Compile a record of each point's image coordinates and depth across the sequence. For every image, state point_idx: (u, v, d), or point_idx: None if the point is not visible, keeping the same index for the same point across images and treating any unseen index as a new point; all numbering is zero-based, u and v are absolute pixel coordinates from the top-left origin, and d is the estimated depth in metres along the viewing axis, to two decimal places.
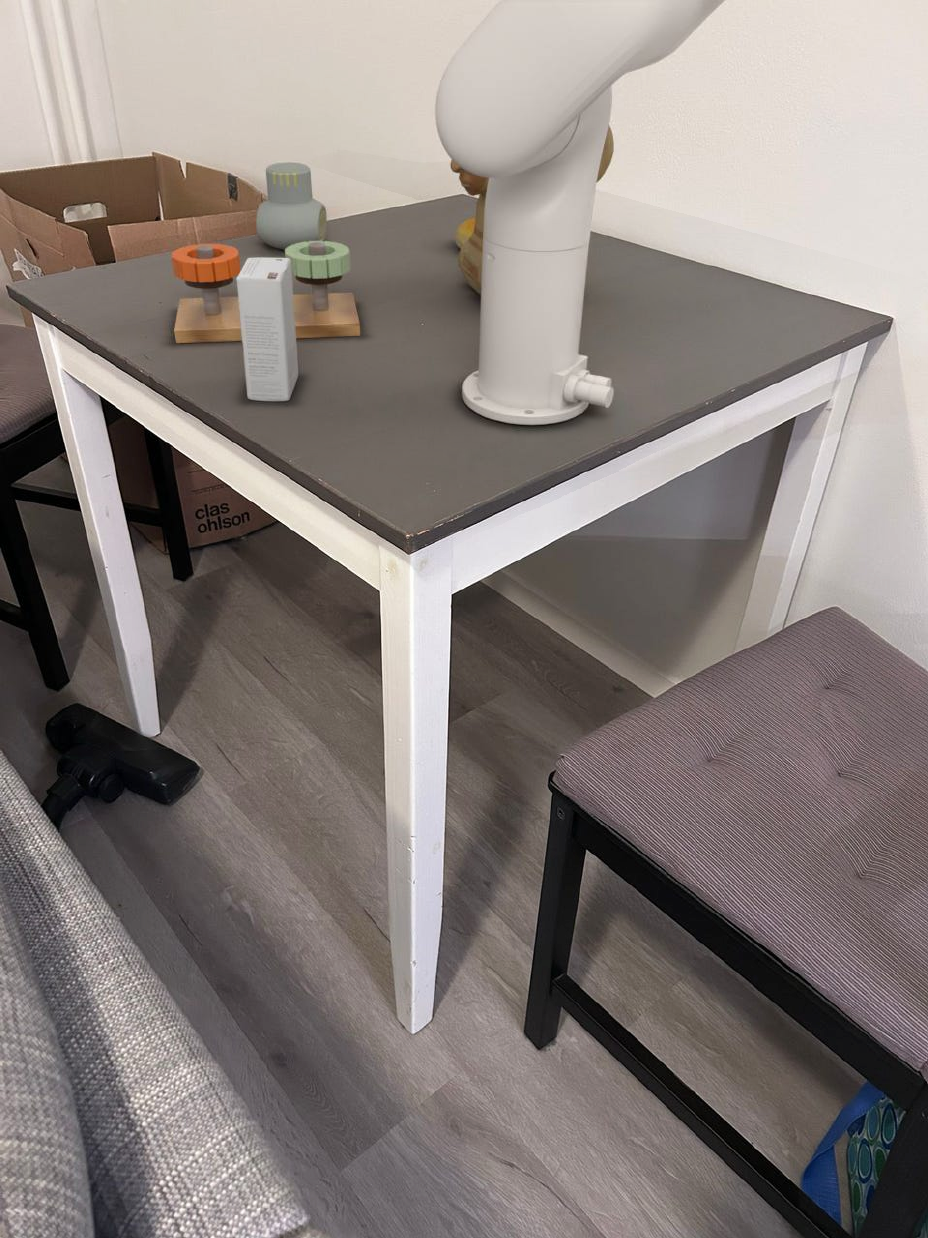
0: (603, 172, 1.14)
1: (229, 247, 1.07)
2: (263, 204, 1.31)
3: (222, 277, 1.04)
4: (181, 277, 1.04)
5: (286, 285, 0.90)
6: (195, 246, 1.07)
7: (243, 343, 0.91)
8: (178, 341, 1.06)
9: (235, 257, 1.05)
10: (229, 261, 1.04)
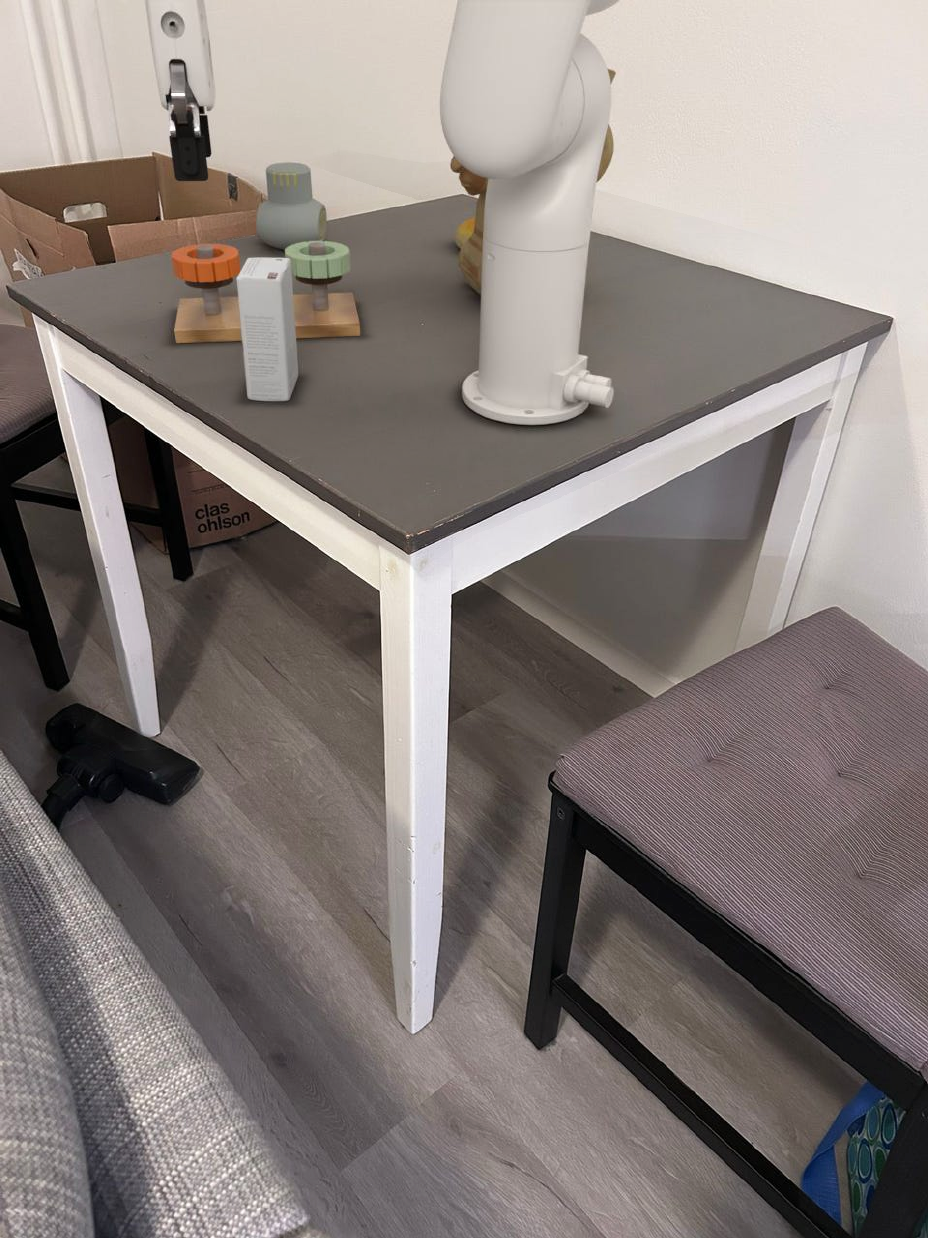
0: (603, 172, 1.14)
1: (229, 247, 1.07)
2: (263, 204, 1.31)
3: (222, 277, 1.04)
4: (181, 277, 1.04)
5: (286, 285, 0.90)
6: (195, 246, 1.07)
7: (243, 343, 0.91)
8: (178, 341, 1.06)
9: (235, 257, 1.05)
10: (229, 261, 1.04)
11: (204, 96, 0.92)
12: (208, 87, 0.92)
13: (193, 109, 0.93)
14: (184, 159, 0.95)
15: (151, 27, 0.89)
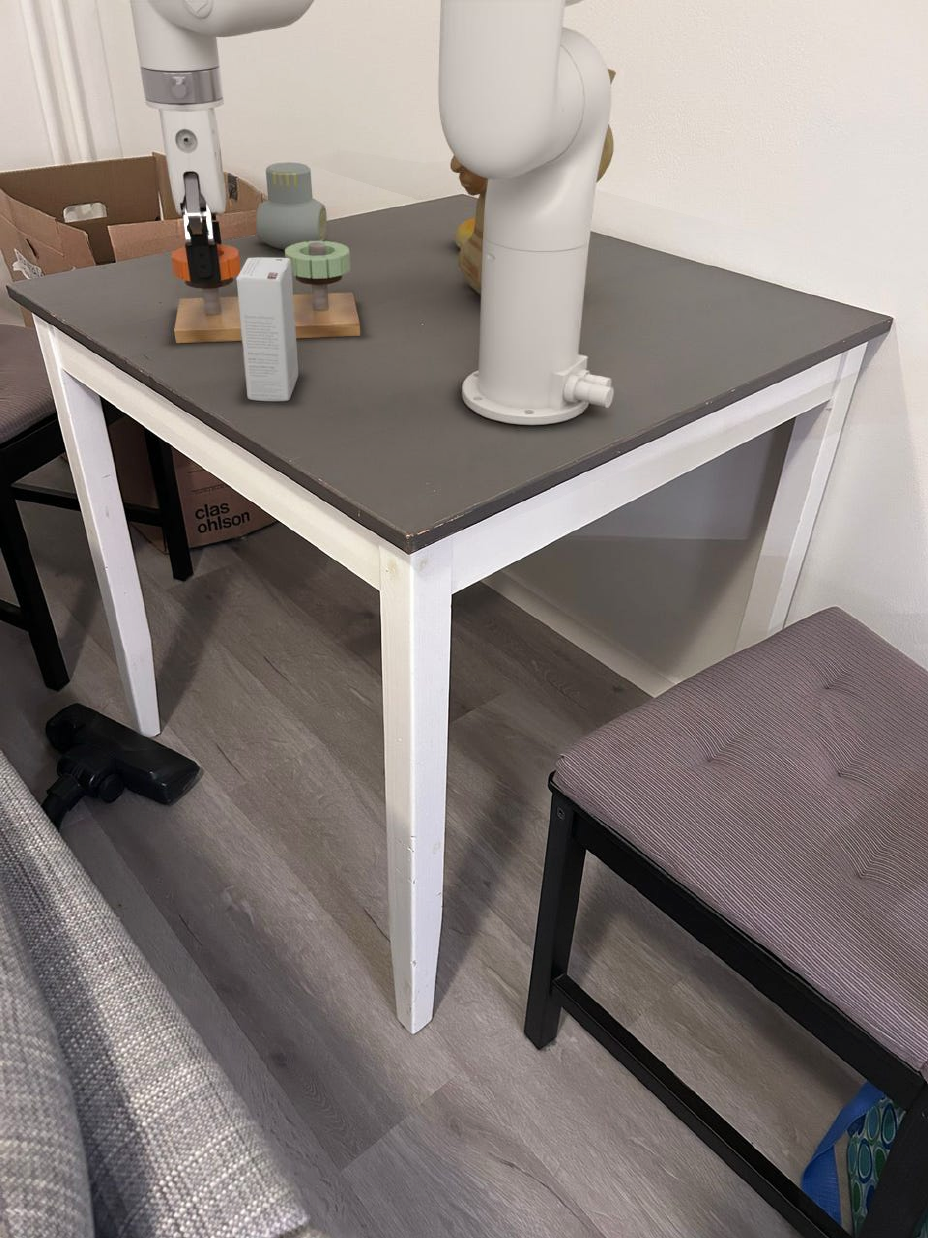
0: (603, 172, 1.14)
1: (229, 247, 1.07)
2: (263, 204, 1.31)
3: (222, 277, 1.04)
4: (181, 277, 1.04)
5: (286, 285, 0.90)
6: None
7: (243, 343, 0.91)
8: (178, 341, 1.06)
9: (235, 257, 1.05)
10: (229, 261, 1.04)
11: (216, 203, 0.98)
12: (220, 195, 0.98)
13: (207, 219, 1.00)
14: (198, 264, 1.02)
15: (166, 143, 0.95)
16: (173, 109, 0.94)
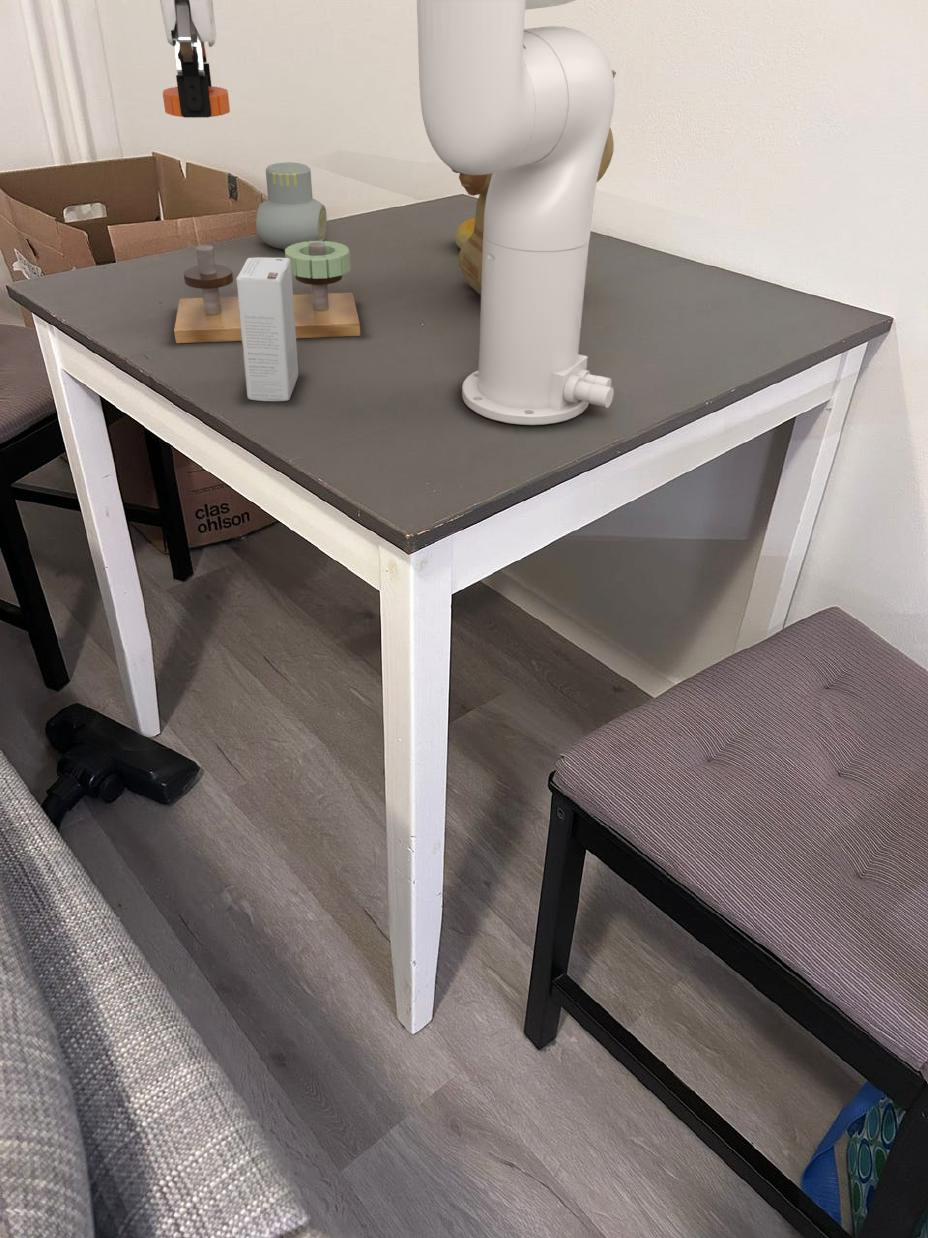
0: (603, 172, 1.14)
1: (219, 88, 1.10)
2: (263, 204, 1.31)
3: (212, 113, 1.07)
4: (172, 113, 1.07)
5: (286, 285, 0.90)
6: None
7: (243, 343, 0.91)
8: (178, 341, 1.06)
9: (224, 94, 1.08)
10: (219, 97, 1.07)
11: (206, 32, 1.01)
12: (210, 23, 1.01)
13: (197, 49, 1.02)
14: (189, 96, 1.04)
15: None
16: None
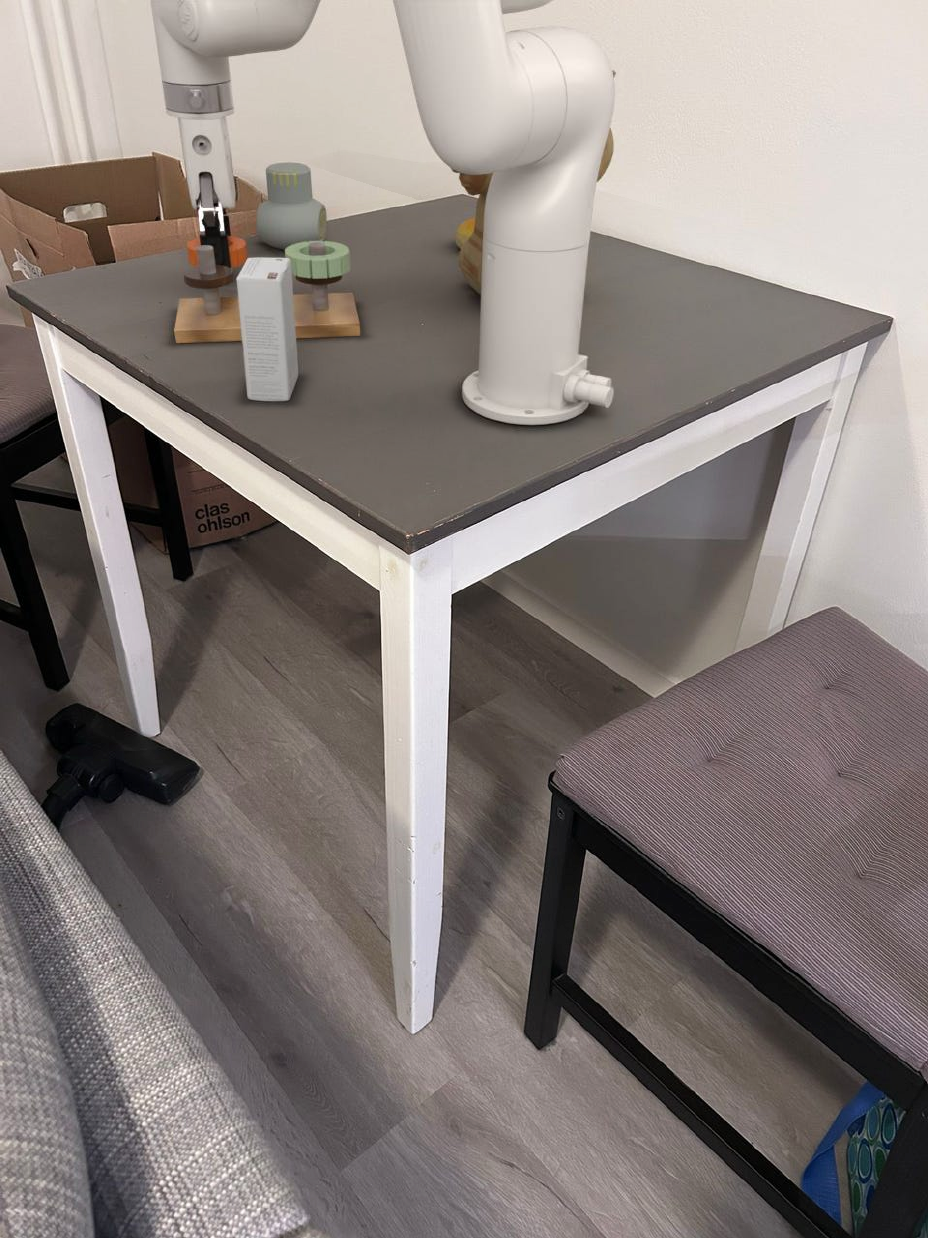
0: (603, 172, 1.14)
1: (237, 238, 1.21)
2: (263, 204, 1.31)
3: (231, 265, 1.19)
4: (195, 264, 1.19)
5: (286, 285, 0.90)
6: None
7: (243, 343, 0.91)
8: (178, 341, 1.06)
9: (243, 247, 1.19)
10: (237, 250, 1.18)
11: (227, 200, 1.12)
12: (230, 192, 1.12)
13: (219, 214, 1.14)
14: None
15: (184, 147, 1.09)
16: (190, 117, 1.08)
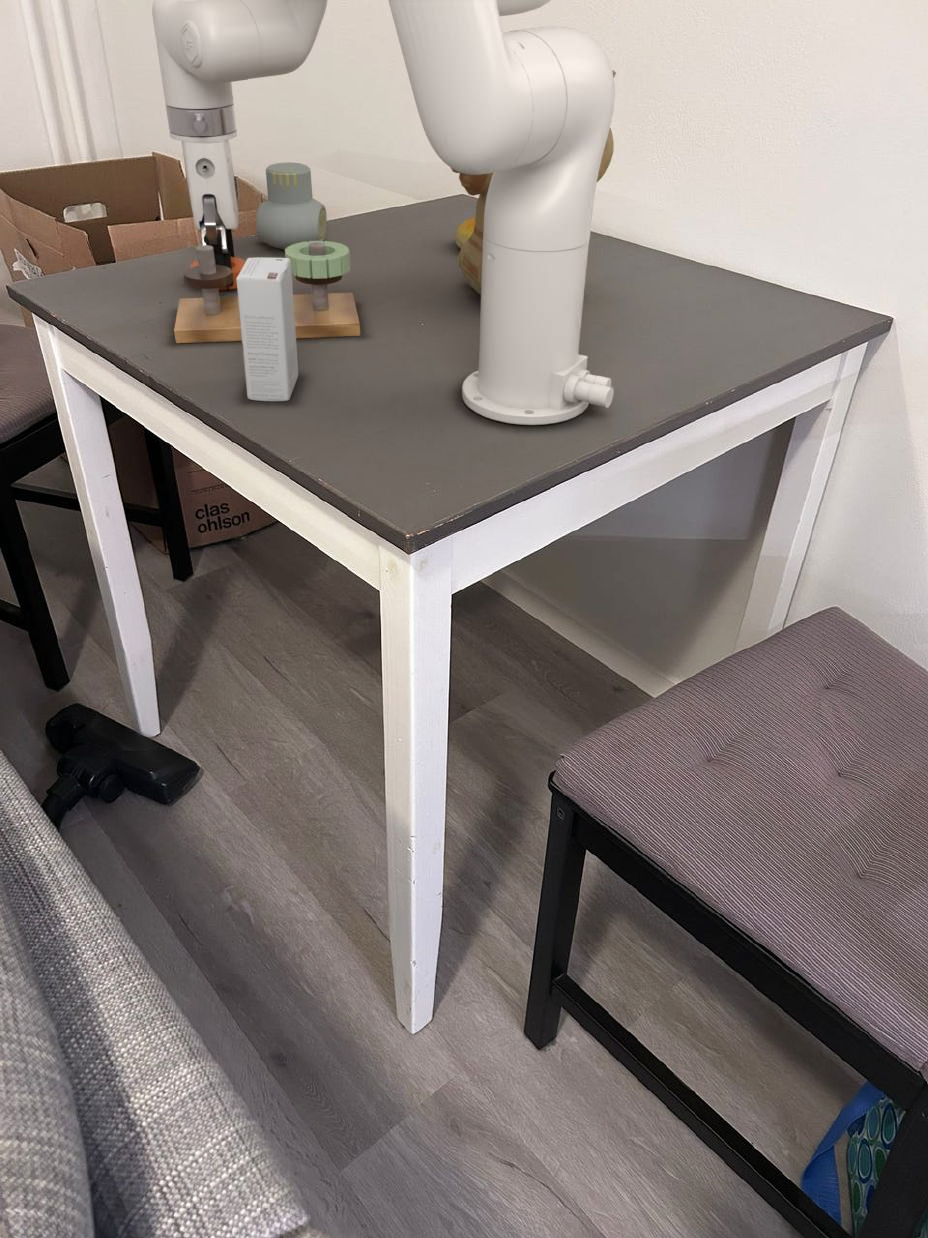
0: (603, 172, 1.14)
1: (240, 259, 1.23)
2: (263, 204, 1.31)
3: (234, 286, 1.20)
4: None
5: (286, 285, 0.90)
6: None
7: (243, 343, 0.91)
8: (178, 341, 1.06)
9: None
10: None
11: (230, 221, 1.14)
12: (233, 214, 1.14)
13: (221, 231, 1.14)
14: None
15: (188, 170, 1.10)
16: (194, 141, 1.09)
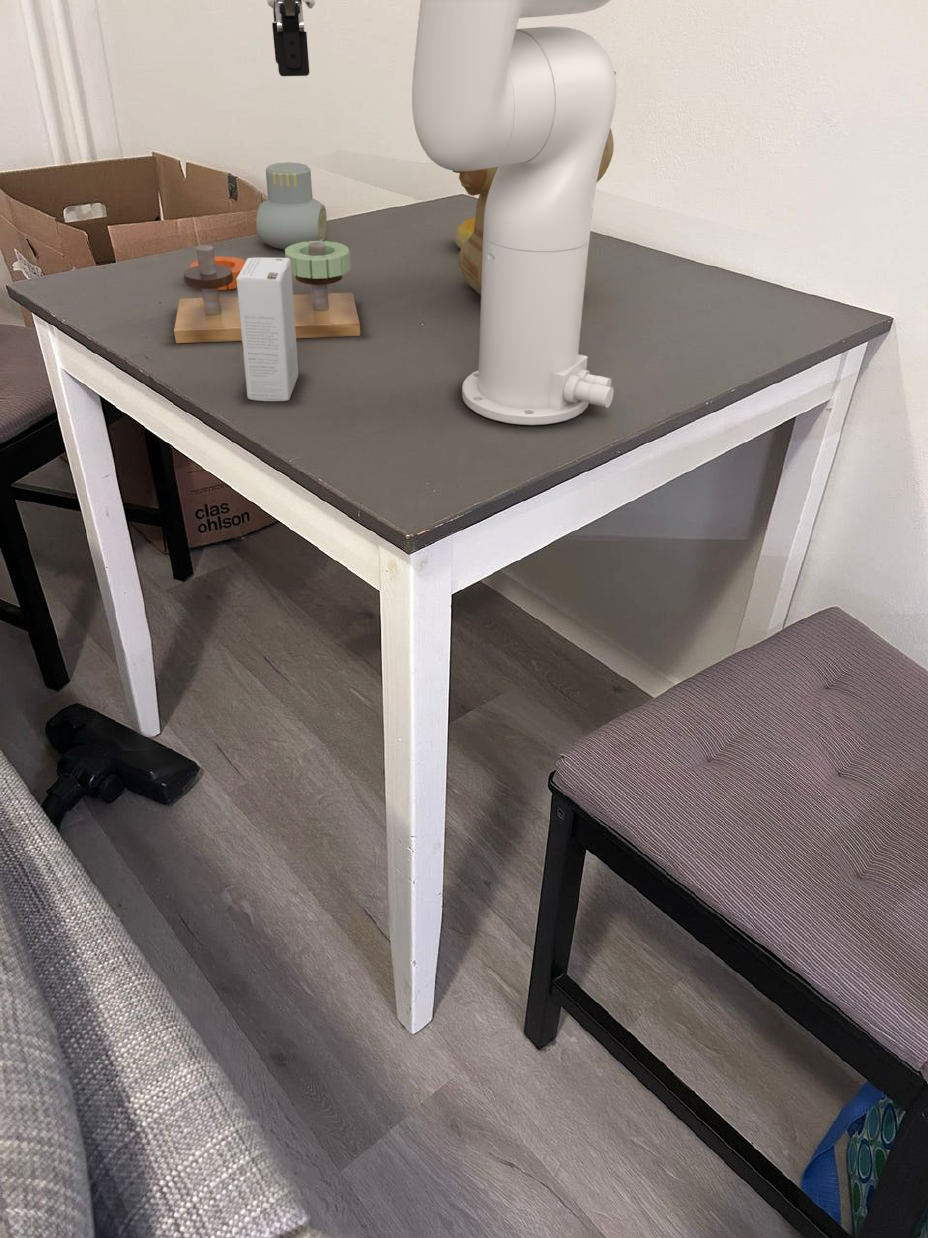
0: (603, 172, 1.14)
1: (240, 259, 1.23)
2: (263, 204, 1.31)
3: (234, 286, 1.20)
4: None
5: (286, 285, 0.90)
6: None
7: (243, 343, 0.91)
8: (178, 341, 1.06)
9: None
10: None
11: None
12: None
13: (297, 5, 1.00)
14: (288, 53, 1.01)
15: None
16: None
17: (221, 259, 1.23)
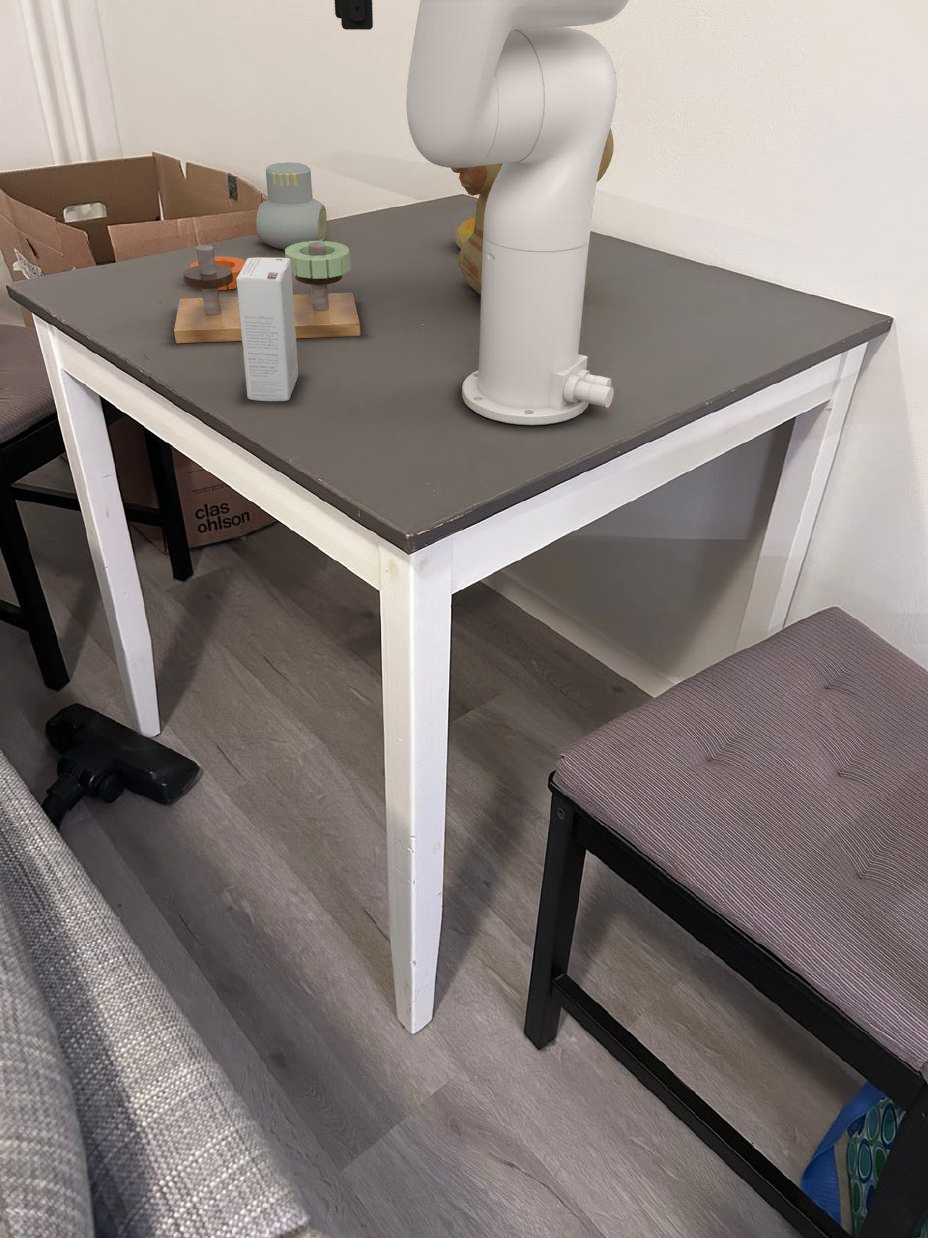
0: (603, 172, 1.14)
1: (240, 259, 1.23)
2: (263, 204, 1.31)
3: (234, 286, 1.20)
4: None
5: (286, 285, 0.90)
6: None
7: (243, 343, 0.91)
8: (178, 341, 1.06)
9: None
10: None
11: None
12: None
13: None
14: (353, 5, 0.99)
15: None
16: None
17: (221, 259, 1.23)
